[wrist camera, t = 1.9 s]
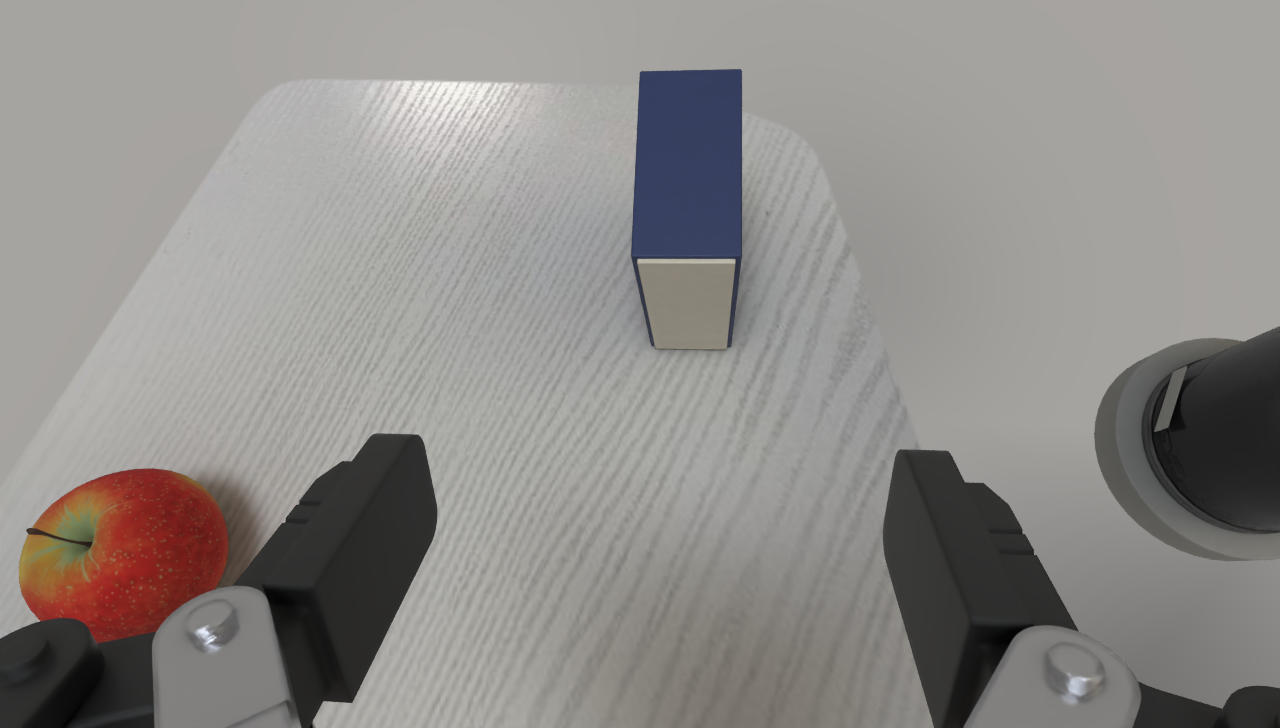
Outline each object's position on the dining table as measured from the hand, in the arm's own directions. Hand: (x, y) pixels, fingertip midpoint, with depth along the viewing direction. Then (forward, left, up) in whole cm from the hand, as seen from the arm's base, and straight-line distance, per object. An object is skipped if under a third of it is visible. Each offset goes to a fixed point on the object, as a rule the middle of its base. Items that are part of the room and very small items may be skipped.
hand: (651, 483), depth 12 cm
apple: (+27, +2, -27) cm, 38 cm away
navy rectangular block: (0, -15, -27) cm, 31 cm away
